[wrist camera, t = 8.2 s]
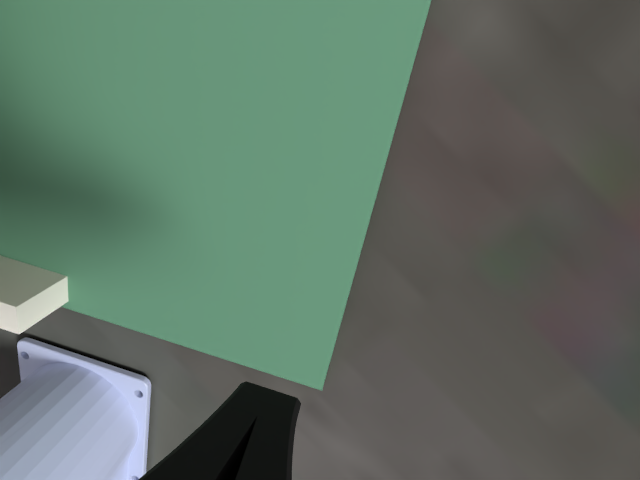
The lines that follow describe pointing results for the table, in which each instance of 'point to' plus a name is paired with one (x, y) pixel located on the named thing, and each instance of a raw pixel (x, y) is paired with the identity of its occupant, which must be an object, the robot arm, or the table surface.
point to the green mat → (202, 162)
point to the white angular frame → (28, 294)
